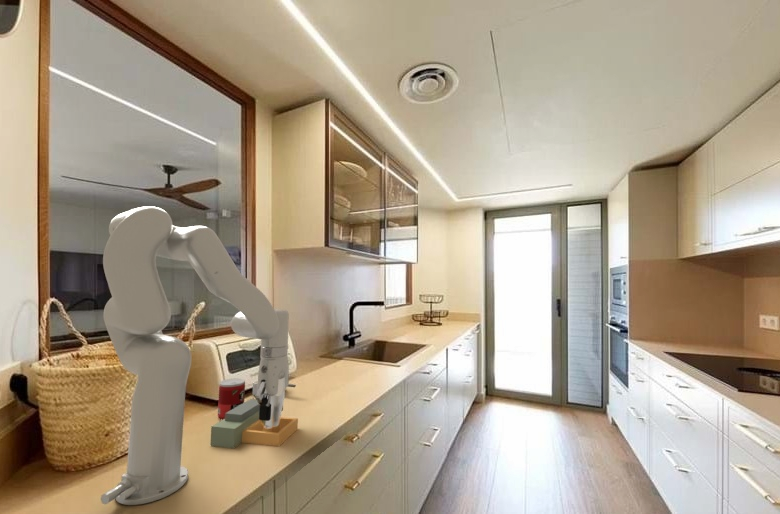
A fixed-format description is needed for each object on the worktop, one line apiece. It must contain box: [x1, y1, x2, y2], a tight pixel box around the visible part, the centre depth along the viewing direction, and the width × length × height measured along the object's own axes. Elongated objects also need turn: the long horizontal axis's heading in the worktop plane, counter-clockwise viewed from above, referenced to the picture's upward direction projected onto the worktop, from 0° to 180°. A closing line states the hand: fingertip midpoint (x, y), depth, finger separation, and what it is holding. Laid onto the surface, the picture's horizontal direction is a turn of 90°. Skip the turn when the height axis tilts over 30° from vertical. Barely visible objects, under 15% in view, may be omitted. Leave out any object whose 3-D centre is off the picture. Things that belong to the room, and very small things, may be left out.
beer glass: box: [260, 376, 286, 433], centre depth 95 cm, size 7×7×15 cm
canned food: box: [217, 377, 246, 420], centre depth 108 cm, size 8×8×11 cm
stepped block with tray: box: [209, 398, 299, 449], centre depth 96 cm, size 20×18×7 cm
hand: (271, 414), depth 94 cm, fingers closed on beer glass, 6 cm apart
